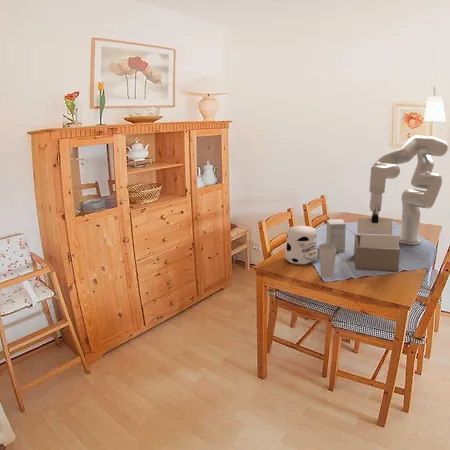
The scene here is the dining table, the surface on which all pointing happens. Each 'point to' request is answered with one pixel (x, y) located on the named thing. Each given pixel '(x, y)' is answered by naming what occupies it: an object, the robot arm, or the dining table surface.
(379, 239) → the front flap
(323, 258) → the cup
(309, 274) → the dining table surface
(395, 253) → the carton
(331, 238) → the small drawer cabinet
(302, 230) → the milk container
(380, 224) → the back flap
